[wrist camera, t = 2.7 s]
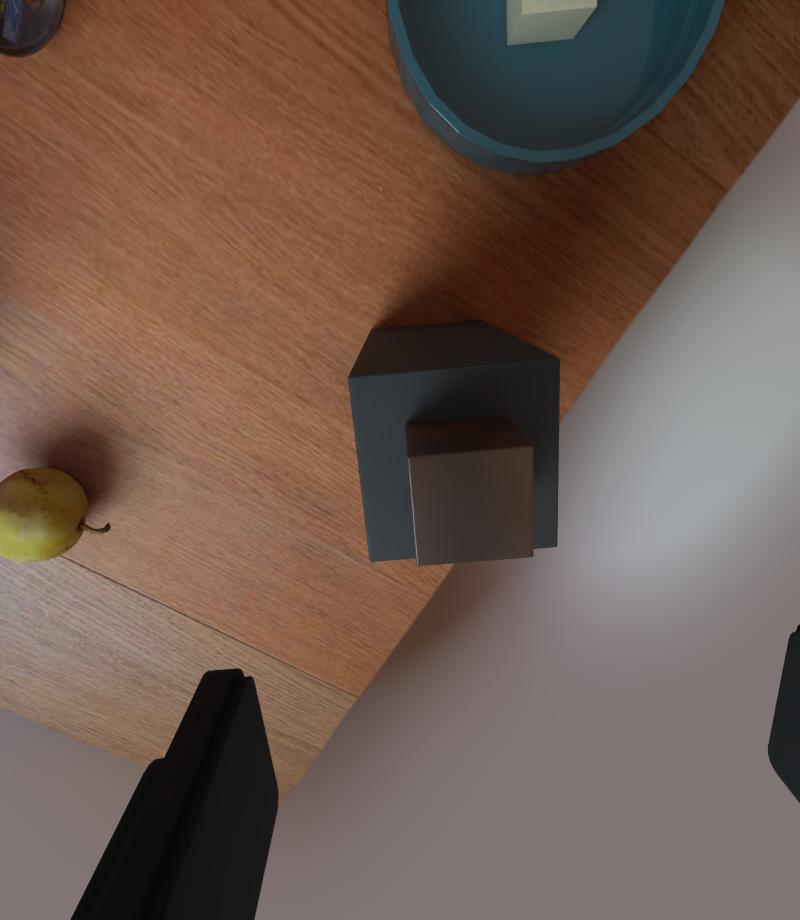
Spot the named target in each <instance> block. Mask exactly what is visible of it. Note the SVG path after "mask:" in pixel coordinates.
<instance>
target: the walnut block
mask: <svg viewBox="0 0 800 920" xmlns="http://www.w3.org/2000/svg"><path fill="white" fill-rule="evenodd" d="M405 432H406V449H407V463H408V475H409V486H410V498H411V509H412V521H413V533H414V544H415V556H416V565H417V566H425V565H438V564H451V563H463V562H476V561H489V560H501V559H514V558H526V557H533V446H532V444H531V443H530V442H529V441H528V440H527V438H526V437H525V436H524V435H523V433H522V432H521V431H520V430H519V428H518V427H517V426H516V425H515V424H514V422H513V421H512V420H511V419H510V417H509V416H508V415H501V416H489V417H477V418H466V419H454V420H442V421H430V422H419V423H407V424H405Z"/></svg>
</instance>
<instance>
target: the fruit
mask: <svg viewBox="0 0 800 920" xmlns="http://www.w3.org/2000/svg"><path fill="white" fill-rule="evenodd" d="M87 513H88V500H87V497H86V495H85V492H84V490H83V489H82V487H81V486H80V484H79V483H78V482H77V481H75V480H74V479H73V478H72V477H70V476H69V475H68V474H66V473H64V472H61V471H59V470H56V469H51V468H32V469H25V470H20V471H17V472H15V473H14V474H12V475H10V476H8V477H7V478H6V479H4V480H3V481H2V482H1V483H0V556H3V557H5V558H7V559H9V560H12V561H19V562H37V561H44V560H49V559H52V558H55V557H57V556H60V555H62V554H64V553H66V552H67V551H69V550H70V549H71V548H72V547H73V546H74V545H75V544H76V543H77V541H78V540H79V538H80V537H81V535H82V533H83V530H86V531H89V532H91V533H92V534H103V533H106V532H108V531H109V530H110V528H111V526H110V524H109V523H108V524H106V526H105V527H104V528H101V529H93V528H91V527H89V526H88V525H86V524H85V521H86V517H87Z"/></svg>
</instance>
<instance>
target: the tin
mask: <svg viewBox="0 0 800 920" xmlns="http://www.w3.org/2000/svg"><path fill="white" fill-rule="evenodd" d="M64 4H65V0H0V54H2V55H5V56H9V57H26V56H29V55H32V54H34V53H36V52H38V51H39V50H40V49H42V48H43V47H44V46H45V45H46V44H47V43H48V42H49V40H50V39H51V38H52V36H53V34H54V33H55V31H56V29H57V27H58V25H59V22H60V19H61V17H62V13H63V8H64Z"/></svg>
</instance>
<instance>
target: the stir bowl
mask: <svg viewBox="0 0 800 920" xmlns="http://www.w3.org/2000/svg"><path fill="white" fill-rule="evenodd" d="M724 2H725V0H597V7H596V8H595V10H594V11H593V12H592V14H591V15H590V16H589V18H588V19H587V20H586V22H585V23H584V25H583V26H582V27H581V29H580V30H579V31H578V33H577V34H576V35H575V37H574V38H573V39H567V40H557V41H547V42H537V43H527V44H517V45H507V5H506V0H386V7H387V20H388V33H389V41H390V46H391V49H392V52H393V55H394V59H395V62H396V65H397V69H398V72H399V75H400V78H401V82H402V84H403V87H404V89H405V90H406V92H407V94H408V95H409V97H410V99H411V101H412V102H413V104H414V106H415V107H416V109H417V111H418V112H419V114H420V116H421V118H422V119H423V121H424V122H425V124H427V125H428V126H429V127H430V128H431V129H432V130H433V131H434V132H435V133H436V134H437V135H438V136H439V137H440V138H441V139H442V140H443V141H444V142H445V143H446V144H447V145H448V146H449V147H450V148H451V149H452V150H453V151H455V152H457V153H459V154H460V155H462V156H464V157H466V158H468V159H470V160H471V161H473V162H475V163H477V164H479V165H481V166H482V167H484V168H487V169H492V170H497V171H502V172H507V173H512V174H517V175H532V174H543V173H553V172H558V171H559V172H560V171H562V170H565V169H567V168H570V167H572V166H575V165H578V164H580V163H583V162H585V161H588V160H590V159H593V158H595V157H597V156H598V155H600V154H602V153H603V152H605V151H606V150H608V149H610V148H611V147H613V146H615V145H616V144H618V143H620V142H621V141H622V140H624V139H625V138H627V137H628V136H629V135H631V134H632V133H633V132H635V131H636V130H637V129H639V128H640V127H642V126H643V125H644V124H646V123H647V122H648V121H650V120H651V119H653V118H654V117H655V116H656V115H657V114H658V113H659V112H660V111H661V110H662V109H663V108H664V107H665V105H666V104H667V103H668V102H669V101H670V100H671V98H672V97H673V96H674V95H675V94H676V93H677V91H678V90H679V89H680V88H681V87H682V86H683V85H684V83H685V82H686V81H687V80H688V79H689V77H690V76H691V74H692V73H693V71H694V69H695V67H696V65H697V63H698V62H699V60H700V58H701V56H702V54H703V53H704V51H705V49H706V47H707V45H708V43H709V42H710V40H711V38H712V36H713V34H714V32H715V31H716V28H717V25H718V22H719V18H720V15H721V12H722V9H723V5H724Z"/></svg>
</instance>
